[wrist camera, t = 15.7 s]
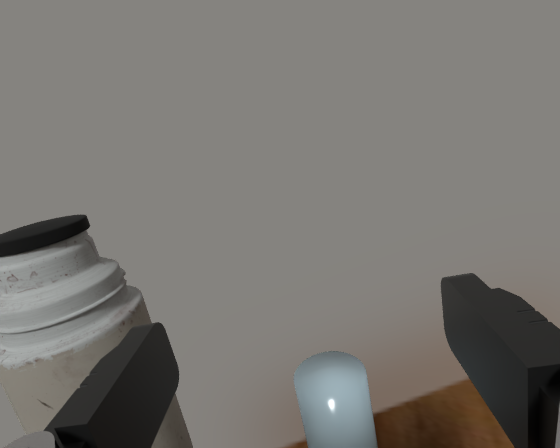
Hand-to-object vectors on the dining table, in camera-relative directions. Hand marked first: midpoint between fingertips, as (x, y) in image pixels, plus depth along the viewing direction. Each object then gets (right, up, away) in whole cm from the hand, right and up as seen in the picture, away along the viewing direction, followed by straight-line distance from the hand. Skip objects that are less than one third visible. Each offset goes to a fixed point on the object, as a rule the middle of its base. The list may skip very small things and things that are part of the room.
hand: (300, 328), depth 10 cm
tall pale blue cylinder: (+5, -20, +17) cm, 27 cm away
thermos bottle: (-8, -24, +16) cm, 30 cm away
